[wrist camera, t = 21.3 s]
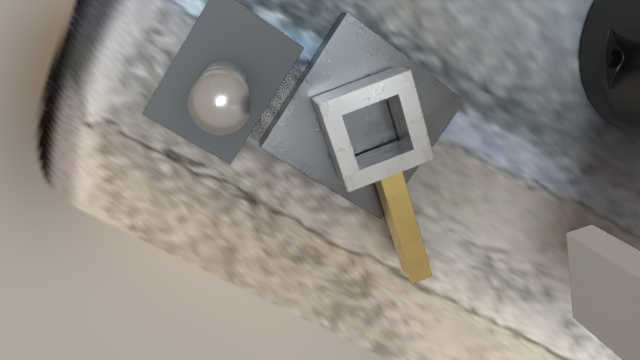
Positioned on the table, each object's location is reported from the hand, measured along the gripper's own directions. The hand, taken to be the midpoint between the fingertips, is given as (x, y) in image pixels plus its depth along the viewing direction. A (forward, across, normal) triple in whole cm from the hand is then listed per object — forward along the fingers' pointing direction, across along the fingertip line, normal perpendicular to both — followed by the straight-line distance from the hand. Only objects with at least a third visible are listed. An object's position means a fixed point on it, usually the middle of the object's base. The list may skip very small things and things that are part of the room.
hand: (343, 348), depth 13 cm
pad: (+25, -2, +5) cm, 26 cm away
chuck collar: (+23, +7, -5) cm, 24 cm away
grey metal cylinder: (+24, -2, +5) cm, 25 cm away
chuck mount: (+25, +7, 0) cm, 26 cm away
